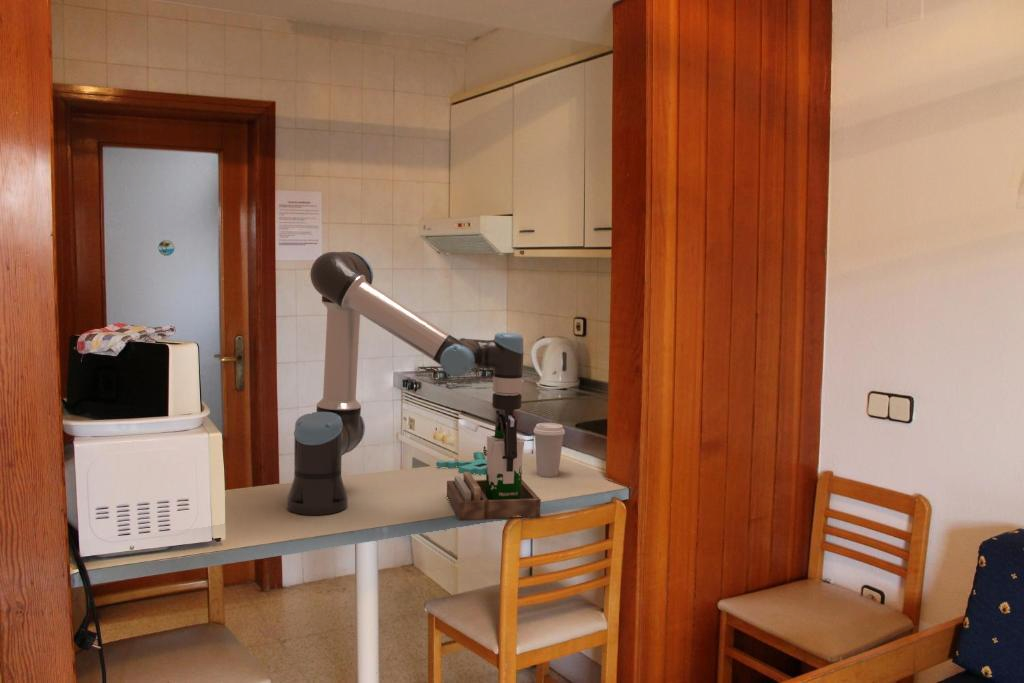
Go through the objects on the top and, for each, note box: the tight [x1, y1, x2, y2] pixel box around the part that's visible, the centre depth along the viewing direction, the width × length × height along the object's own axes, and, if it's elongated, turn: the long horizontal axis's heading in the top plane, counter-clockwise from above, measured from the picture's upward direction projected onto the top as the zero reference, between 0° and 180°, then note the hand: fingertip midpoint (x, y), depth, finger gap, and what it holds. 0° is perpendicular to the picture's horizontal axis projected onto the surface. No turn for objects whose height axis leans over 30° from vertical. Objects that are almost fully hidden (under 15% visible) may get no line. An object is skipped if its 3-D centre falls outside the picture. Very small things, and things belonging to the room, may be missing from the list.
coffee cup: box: [533, 422, 566, 478], centre depth 263 cm, size 10×10×15 cm
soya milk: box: [485, 428, 525, 500], centre depth 228 cm, size 9×9×20 cm
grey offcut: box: [454, 475, 471, 501], centre depth 226 cm, size 2×16×6 cm, turn 13°
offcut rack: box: [446, 479, 542, 521], centre depth 228 cm, size 21×20×4 cm
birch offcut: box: [462, 472, 481, 501], centre depth 226 cm, size 2×16×8 cm, turn 13°
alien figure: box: [435, 451, 487, 476], centre depth 269 cm, size 20×2×20 cm
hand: (504, 478), depth 228 cm, fingers closed on soya milk, 9 cm apart
